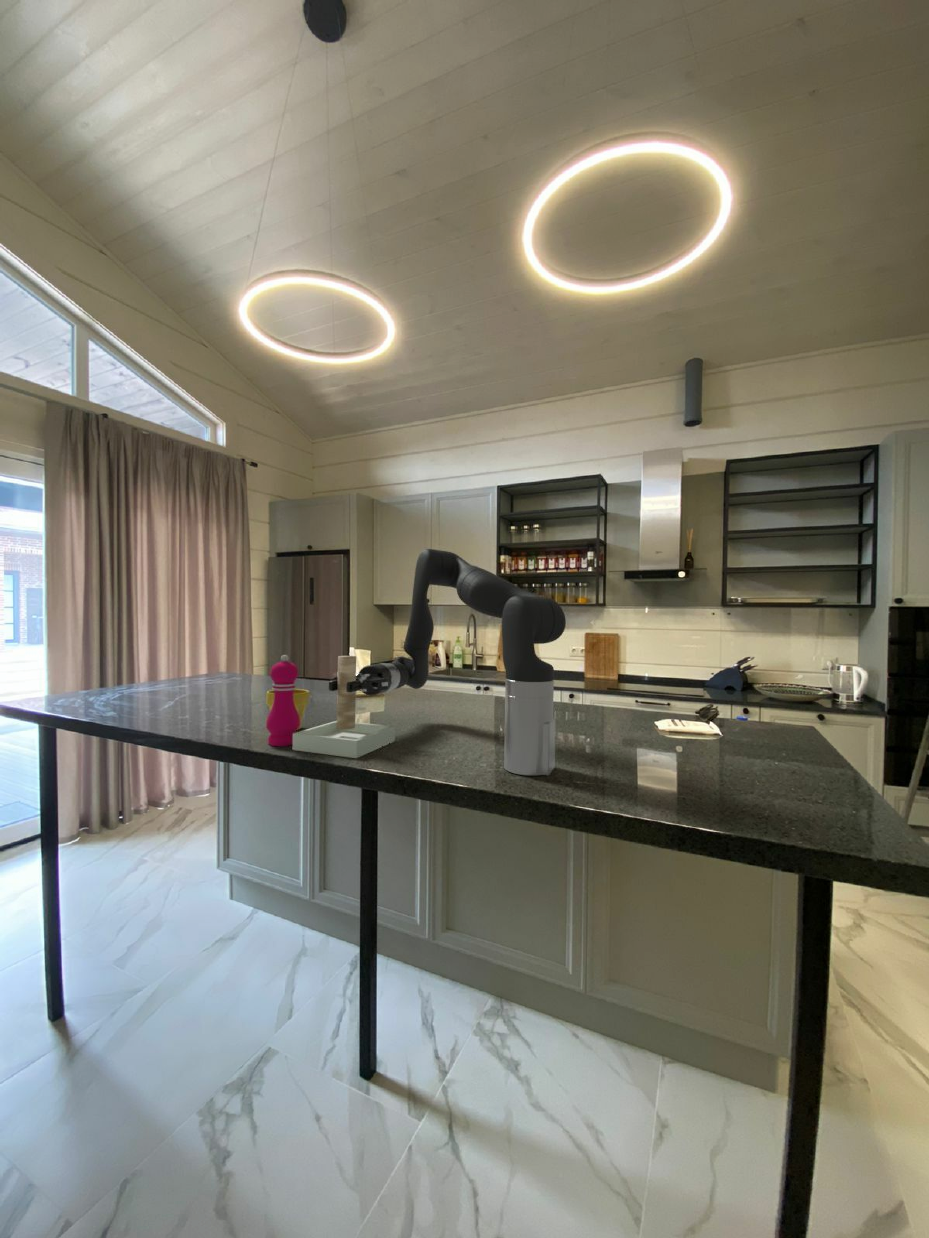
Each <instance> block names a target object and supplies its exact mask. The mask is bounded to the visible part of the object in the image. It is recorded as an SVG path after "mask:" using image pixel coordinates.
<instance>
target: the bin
mask: <svg viewBox="0 0 929 1238" xmlns="http://www.w3.org/2000/svg"><path fill="white" fill-rule="evenodd" d="M395 731H396V727H395V726H394V725H385V724H377V723H375V724H374V723H367V722H366V723H365V722H357V721H355V728H354V729H348V730H341V729H337V720H334V721H331V722H327V723H324V724H320V725H318V726H317V725H316V726H313V727H311V728H307V729H303V730H299V731H296V732H295V733H293V745H292V751H297V752H298V751H299V752H306V753H315V754H322V755H328V756H329V755H330V756H337V757H343V758H350V759H352V758H353V759H358V758H360V757H362V756H365V755H367V754H368V753H371V752H374V751H376V750H379V749H380V748H383V747H385V746H387V745H389V743H390V744H392V743H394V742H395V741H396V740H395V739H396V738H395V735H396V733H395ZM382 746H383V747H382Z"/></svg>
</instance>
